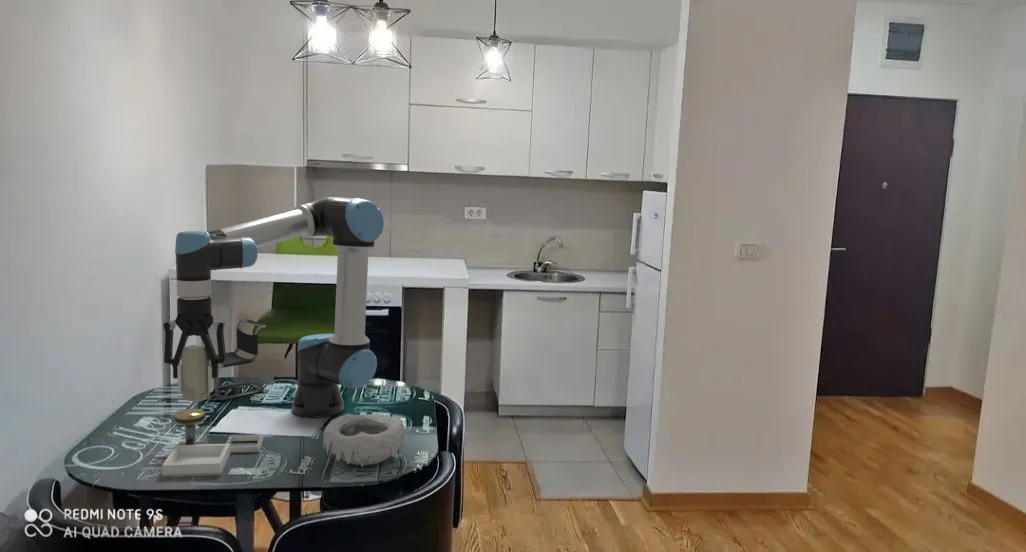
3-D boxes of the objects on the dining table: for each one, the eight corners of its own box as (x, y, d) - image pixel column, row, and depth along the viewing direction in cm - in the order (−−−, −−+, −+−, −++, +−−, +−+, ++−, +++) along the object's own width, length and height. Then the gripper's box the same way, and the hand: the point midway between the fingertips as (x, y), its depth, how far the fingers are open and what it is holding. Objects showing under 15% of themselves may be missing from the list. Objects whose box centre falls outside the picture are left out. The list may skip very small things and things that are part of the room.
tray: (230, 454, 194) (230, 443, 194) (220, 475, 182) (220, 463, 181) (176, 456, 192) (175, 445, 192) (162, 477, 179) (162, 465, 179)
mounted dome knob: (208, 443, 201) (208, 408, 200) (202, 454, 194) (202, 417, 193) (178, 444, 200) (177, 408, 198) (171, 455, 193) (170, 418, 191)
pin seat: (263, 440, 205) (263, 434, 205) (258, 452, 197) (258, 446, 197) (230, 441, 204) (229, 435, 203) (224, 453, 195) (224, 447, 195)
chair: (268, 391, 248) (267, 325, 245) (216, 402, 235) (214, 332, 232) (249, 382, 257) (248, 318, 253) (197, 392, 244) (196, 325, 241)
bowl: (410, 473, 187) (411, 433, 186) (324, 479, 182) (325, 439, 180) (398, 442, 207) (399, 407, 206) (321, 448, 201) (321, 411, 200)
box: (211, 398, 186) (211, 346, 184) (198, 403, 182) (198, 350, 180) (193, 395, 187) (193, 343, 186) (180, 399, 183) (180, 347, 181)
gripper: (239, 294, 186) (240, 385, 190) (155, 293, 183) (157, 387, 186) (233, 299, 179) (235, 394, 182) (146, 299, 175) (149, 396, 179)
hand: (196, 390), depth 184 cm, fingers closed on box, 6 cm apart
